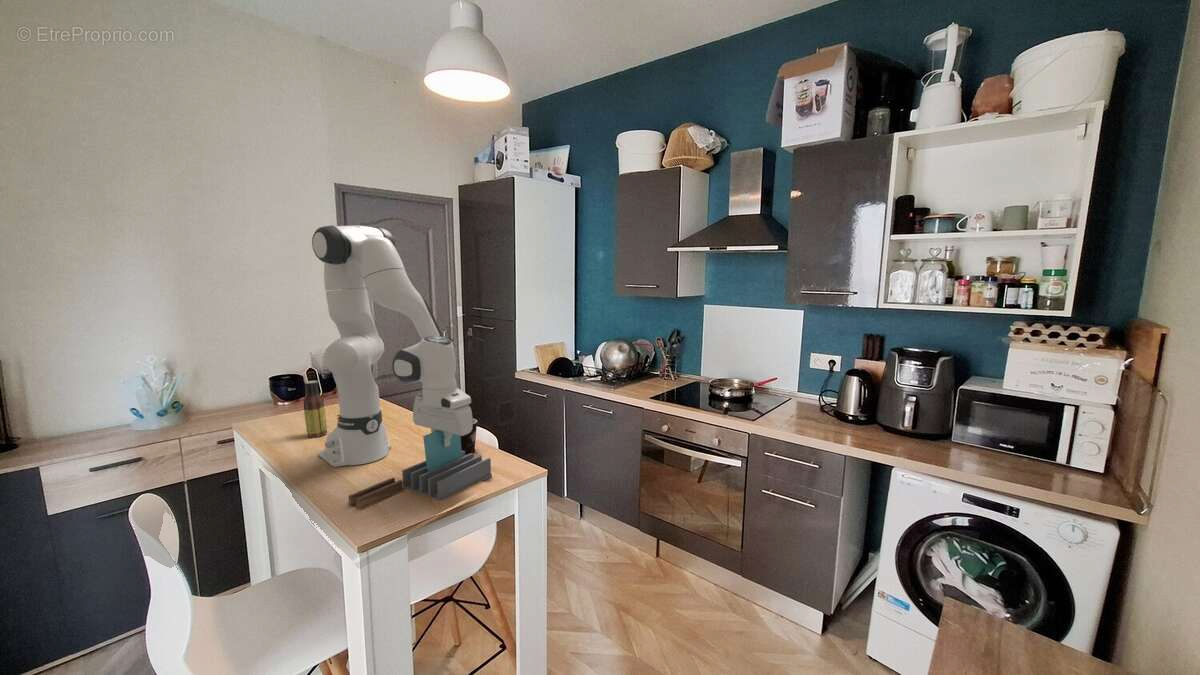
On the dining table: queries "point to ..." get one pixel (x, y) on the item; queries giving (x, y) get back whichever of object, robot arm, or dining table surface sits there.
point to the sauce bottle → (314, 410)
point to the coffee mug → (469, 440)
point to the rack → (447, 476)
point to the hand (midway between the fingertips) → (442, 444)
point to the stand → (375, 493)
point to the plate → (441, 449)
